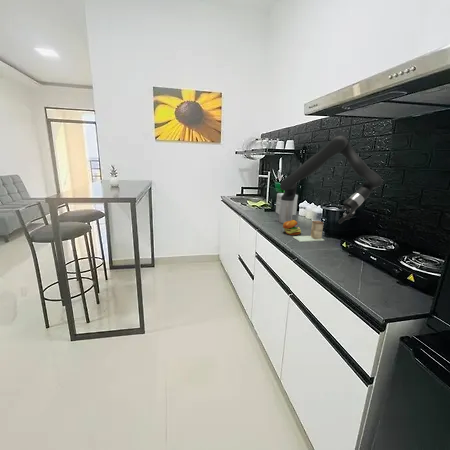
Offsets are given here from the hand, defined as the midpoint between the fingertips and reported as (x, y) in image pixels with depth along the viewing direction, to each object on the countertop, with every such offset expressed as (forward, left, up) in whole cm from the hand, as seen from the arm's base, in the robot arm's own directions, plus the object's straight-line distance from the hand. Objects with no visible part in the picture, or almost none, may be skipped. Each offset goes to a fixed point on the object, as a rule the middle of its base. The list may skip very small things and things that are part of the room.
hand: (334, 221), depth 152 cm
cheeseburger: (-19, -16, -11) cm, 27 cm away
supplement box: (-65, +27, -11) cm, 71 cm away
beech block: (-4, -11, -10) cm, 15 cm away
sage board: (-6, -15, -11) cm, 20 cm away
